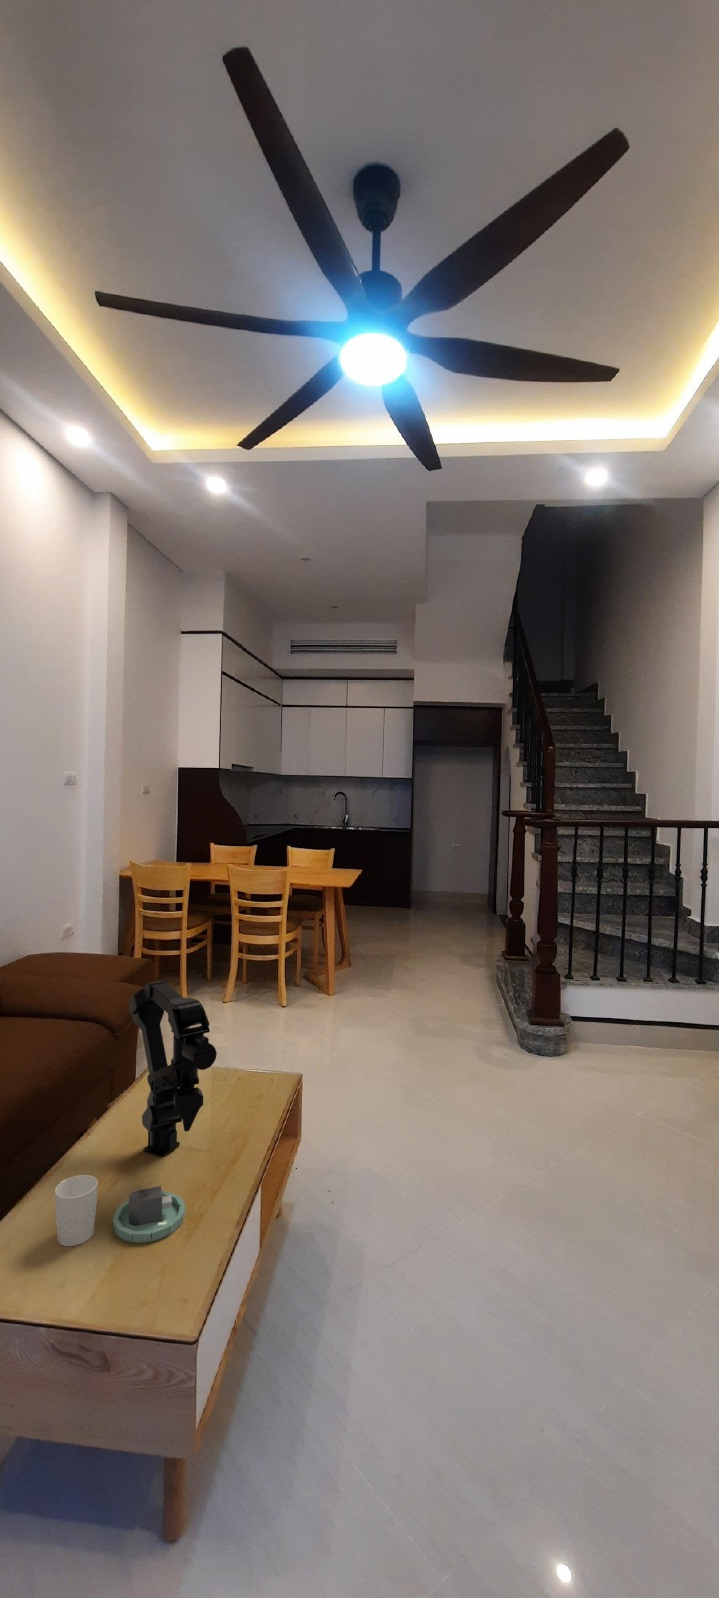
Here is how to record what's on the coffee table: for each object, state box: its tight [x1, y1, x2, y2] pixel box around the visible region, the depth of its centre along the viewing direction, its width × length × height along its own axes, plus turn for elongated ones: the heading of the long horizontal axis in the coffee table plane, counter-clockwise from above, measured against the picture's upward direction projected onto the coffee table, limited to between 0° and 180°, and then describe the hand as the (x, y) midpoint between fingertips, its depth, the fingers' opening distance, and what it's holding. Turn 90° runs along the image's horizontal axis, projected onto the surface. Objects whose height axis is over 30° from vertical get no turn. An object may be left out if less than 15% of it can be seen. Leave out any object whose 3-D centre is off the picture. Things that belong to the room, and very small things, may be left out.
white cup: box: [54, 1174, 99, 1247], centre depth 131 cm, size 8×8×10 cm
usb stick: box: [128, 1185, 172, 1226], centre depth 136 cm, size 8×4×5 cm, turn 110°
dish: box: [112, 1190, 186, 1244], centre depth 136 cm, size 14×14×2 cm
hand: (184, 1121), depth 153 cm, fingers open, 9 cm apart
